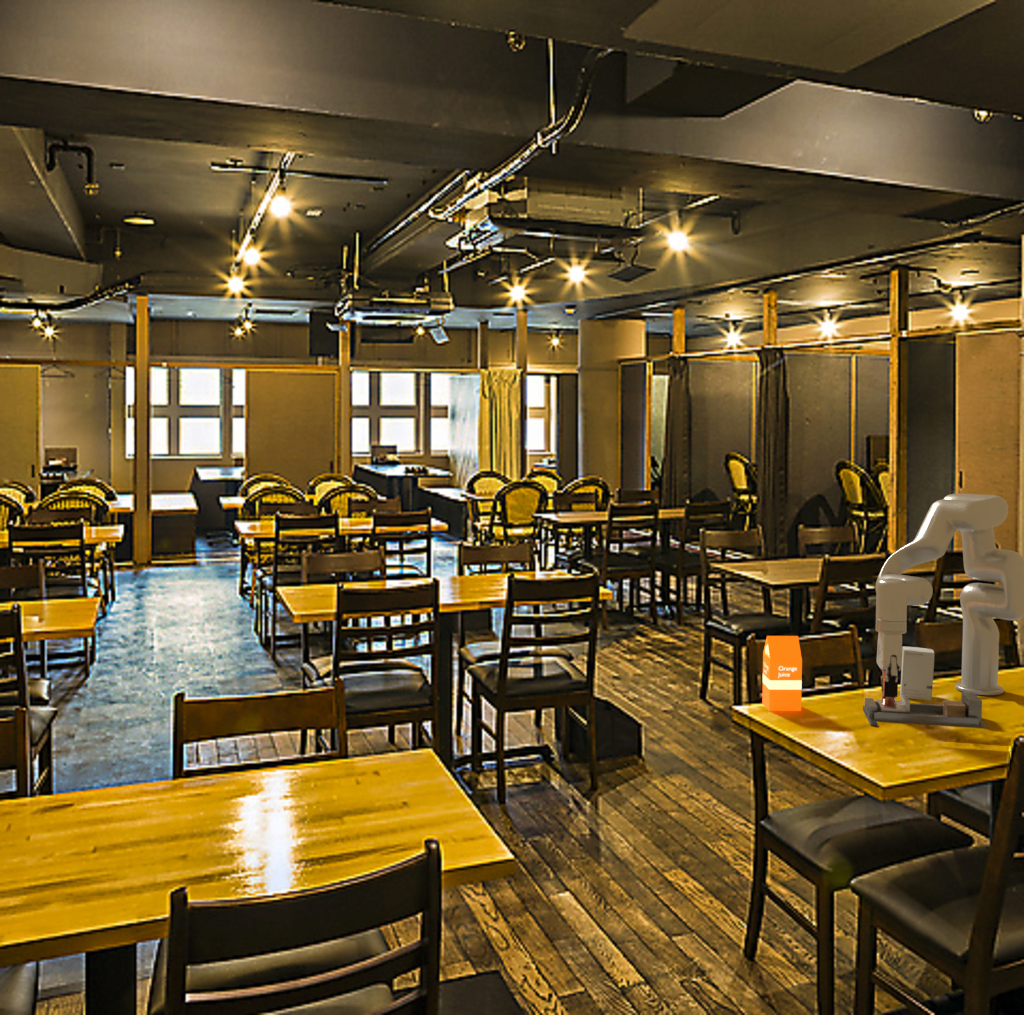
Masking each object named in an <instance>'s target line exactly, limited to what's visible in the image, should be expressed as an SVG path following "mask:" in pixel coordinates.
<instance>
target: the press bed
mask: <svg viewBox="0 0 1024 1015" xmlns="http://www.w3.org/2000/svg"><path fill="white" fill-rule="evenodd" d="M960 695H961V698H960V699H961V700H960V701H962V703H963V704H964V705H965V706H966V710H965V717H957V716H943V704H937V703H936V704H935V703H933V704H931V703H918V702H910V714H904V713H887V712H878V710H877V700H875V699H874V698H871V697H864V705H863V706H862V711H863V713H864V715H865V717H866V719H867V721H868V723H869V725H870V726H871V725H874V726H875V727H879V726H880V724H878V722H879V723H880V722H881V723H896V724H897V723H898V724H910V725H912V724H913V725H927V726H928V725H929V726H930V725H931V726H943V727H944V726H947V727H960V728H961V727H962V728H979V729H989V727H988V725H987V724H986V723H985V722H984V721H983V719H982V717H983V716H982V715H983V714H982V713H983V710H982V709H983V701H982V700H981V698H979V695H977V694H975V693H970V692H963V691H961V694H960ZM876 725H878V726H876ZM874 726H873V727H874Z"/></svg>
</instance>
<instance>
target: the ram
mask: <svg viewBox="0 0 1024 1015" xmlns="http://www.w3.org/2000/svg"><path fill="white" fill-rule="evenodd" d="M888 670H891V668H888ZM884 681H886V669H884V671H883V691H882V690H881V692H882V696H881V697H882V699H876V701H877V710H878V712H887V713H904V714H910V703H911V701H910V698H907V696H906V695H905V694H901V695H900V700H897V697H885V696H884Z"/></svg>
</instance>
